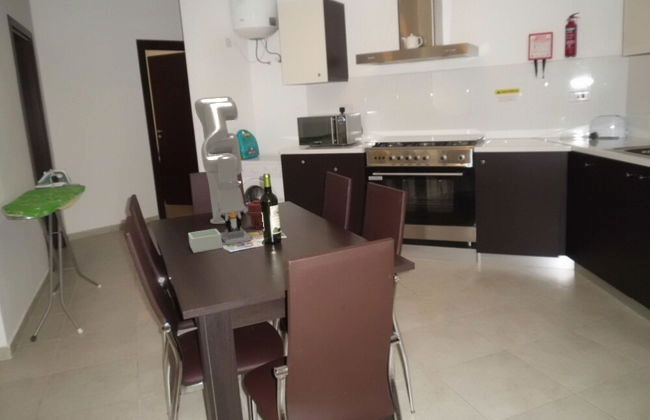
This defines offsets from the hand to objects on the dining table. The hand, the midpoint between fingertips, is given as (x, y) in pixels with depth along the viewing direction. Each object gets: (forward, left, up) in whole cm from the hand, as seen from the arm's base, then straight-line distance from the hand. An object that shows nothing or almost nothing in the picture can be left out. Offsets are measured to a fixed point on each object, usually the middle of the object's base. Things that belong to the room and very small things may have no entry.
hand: (233, 228), depth 211 cm
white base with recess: (0, 0, -5) cm, 5 cm away
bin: (+5, -13, -5) cm, 15 cm away
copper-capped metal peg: (0, 0, -3) cm, 3 cm away
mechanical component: (-13, +14, -5) cm, 20 cm away
